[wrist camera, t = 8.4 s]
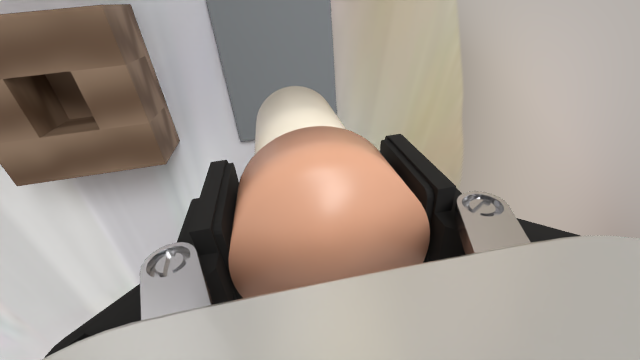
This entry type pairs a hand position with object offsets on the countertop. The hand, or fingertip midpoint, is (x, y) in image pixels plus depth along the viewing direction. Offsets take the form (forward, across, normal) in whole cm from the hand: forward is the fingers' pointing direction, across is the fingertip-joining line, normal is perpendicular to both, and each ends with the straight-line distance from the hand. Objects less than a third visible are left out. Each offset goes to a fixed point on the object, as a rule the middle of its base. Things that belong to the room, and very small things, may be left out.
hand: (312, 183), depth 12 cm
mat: (+25, 0, 0) cm, 25 cm away
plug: (+7, 0, 0) cm, 7 cm away
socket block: (+25, +20, 0) cm, 32 cm away
